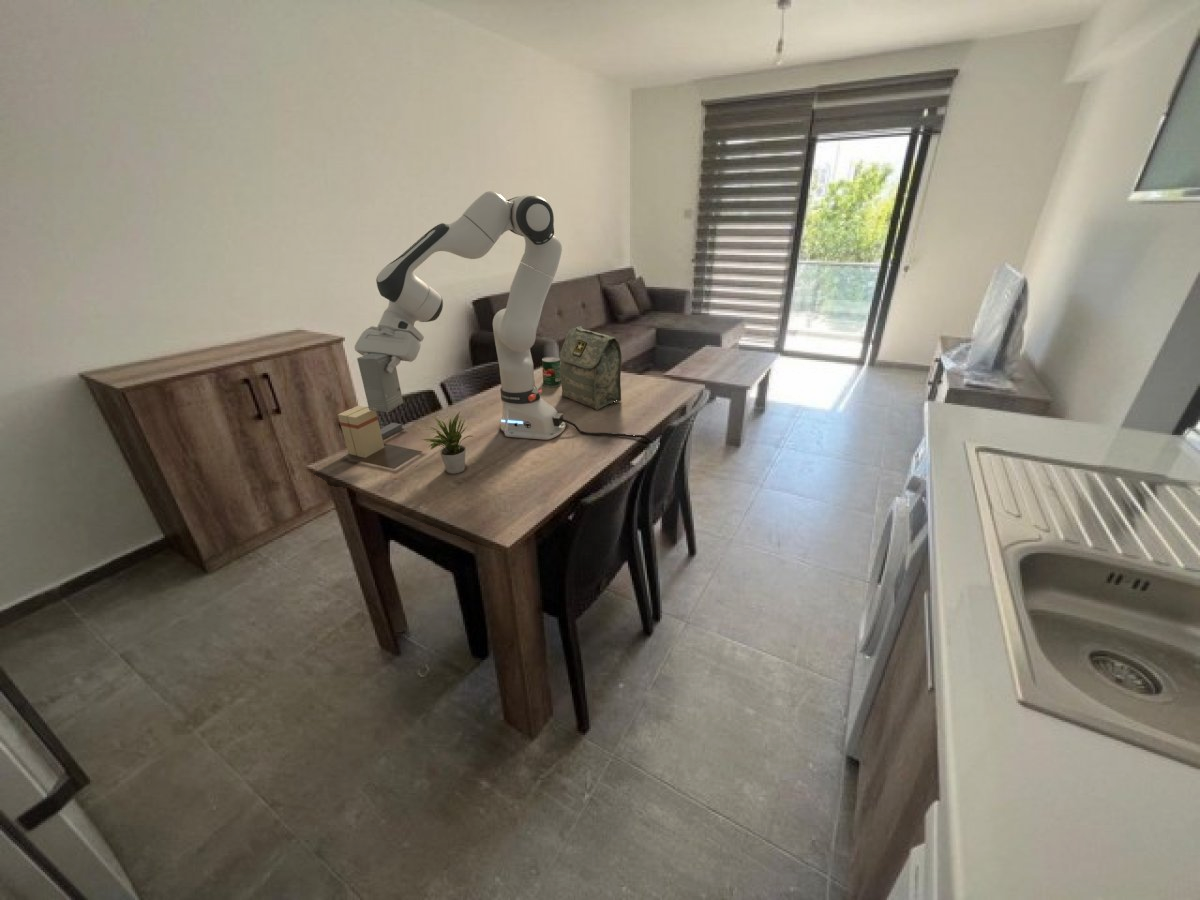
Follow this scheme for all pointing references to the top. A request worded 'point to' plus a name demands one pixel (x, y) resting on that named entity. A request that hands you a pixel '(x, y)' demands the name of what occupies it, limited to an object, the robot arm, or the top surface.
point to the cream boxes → (361, 431)
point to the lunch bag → (591, 368)
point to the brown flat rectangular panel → (388, 456)
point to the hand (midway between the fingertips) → (376, 370)
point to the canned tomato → (551, 371)
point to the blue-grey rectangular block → (390, 430)
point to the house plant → (450, 445)
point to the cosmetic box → (380, 382)
